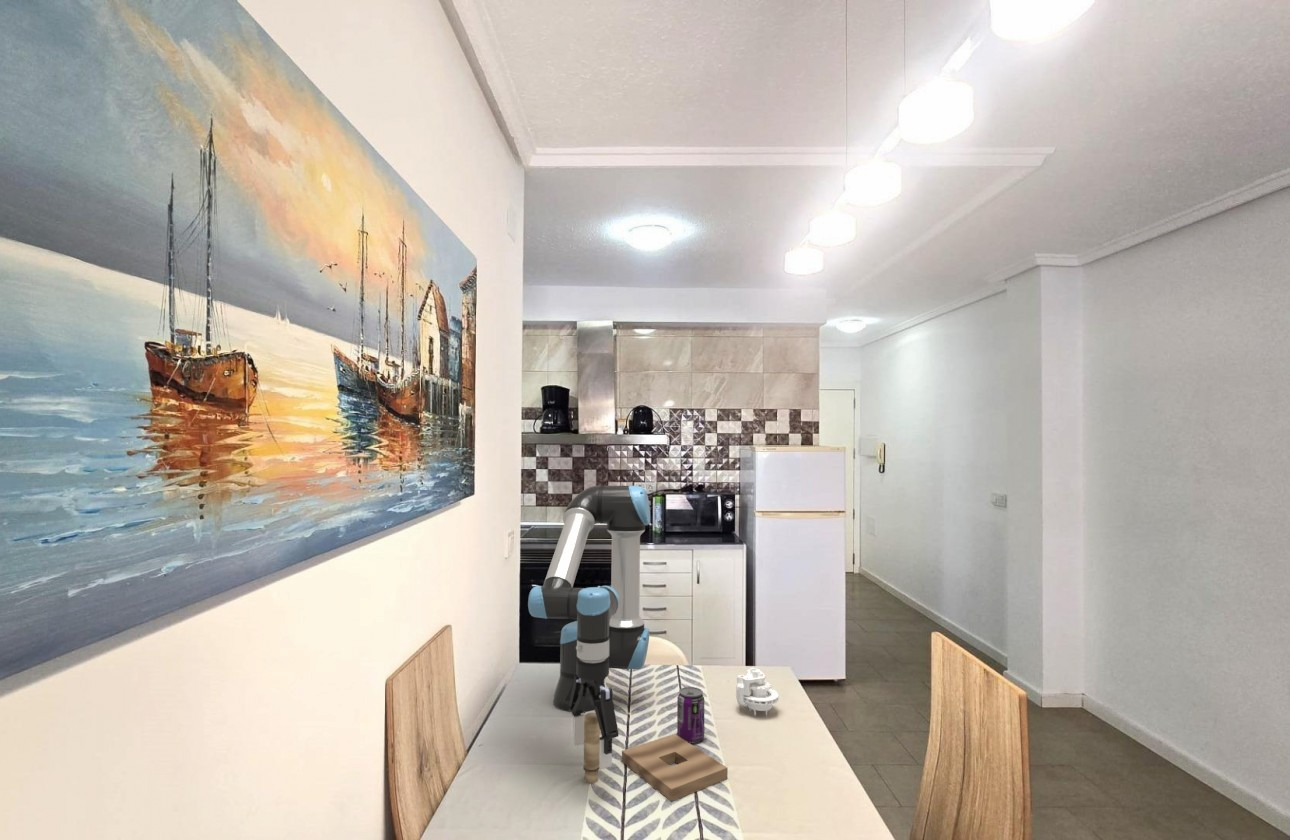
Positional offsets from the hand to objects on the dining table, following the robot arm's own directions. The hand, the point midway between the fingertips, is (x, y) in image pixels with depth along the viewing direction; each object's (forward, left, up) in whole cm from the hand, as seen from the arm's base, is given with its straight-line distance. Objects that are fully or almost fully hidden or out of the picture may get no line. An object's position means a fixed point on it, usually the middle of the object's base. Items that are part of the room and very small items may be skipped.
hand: (591, 755), depth 134 cm
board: (+7, +18, -5) cm, 20 cm away
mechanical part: (-5, +58, -5) cm, 58 cm away
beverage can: (-3, +31, -5) cm, 32 cm away
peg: (0, 0, -5) cm, 5 cm away
